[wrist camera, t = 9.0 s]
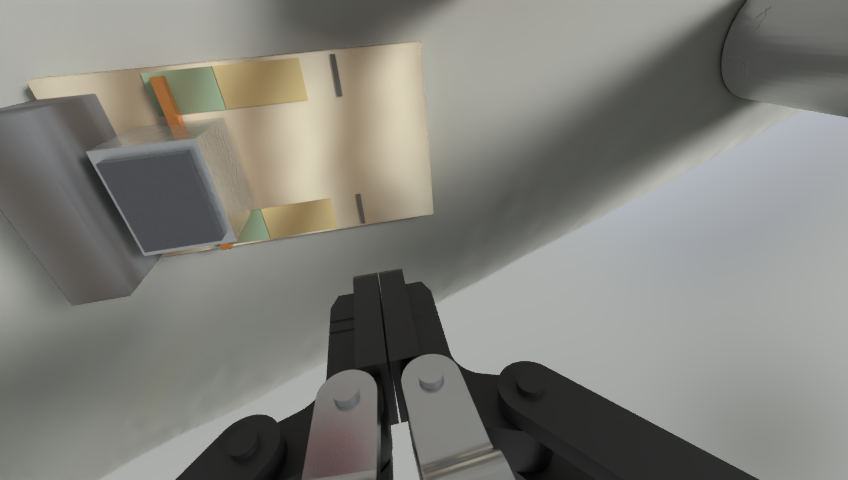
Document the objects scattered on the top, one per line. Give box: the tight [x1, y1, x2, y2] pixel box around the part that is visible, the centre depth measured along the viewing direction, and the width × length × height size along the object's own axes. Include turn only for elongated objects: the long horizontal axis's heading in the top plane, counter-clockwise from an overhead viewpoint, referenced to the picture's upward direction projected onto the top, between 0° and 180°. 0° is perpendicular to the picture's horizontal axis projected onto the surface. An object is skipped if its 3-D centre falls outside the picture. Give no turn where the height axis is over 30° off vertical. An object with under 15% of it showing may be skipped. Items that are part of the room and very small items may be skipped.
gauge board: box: [0, 41, 434, 306], centre depth 22 cm, size 22×12×7 cm, turn 95°
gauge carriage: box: [86, 75, 254, 256], centre depth 21 cm, size 5×11×6 cm, turn 5°
